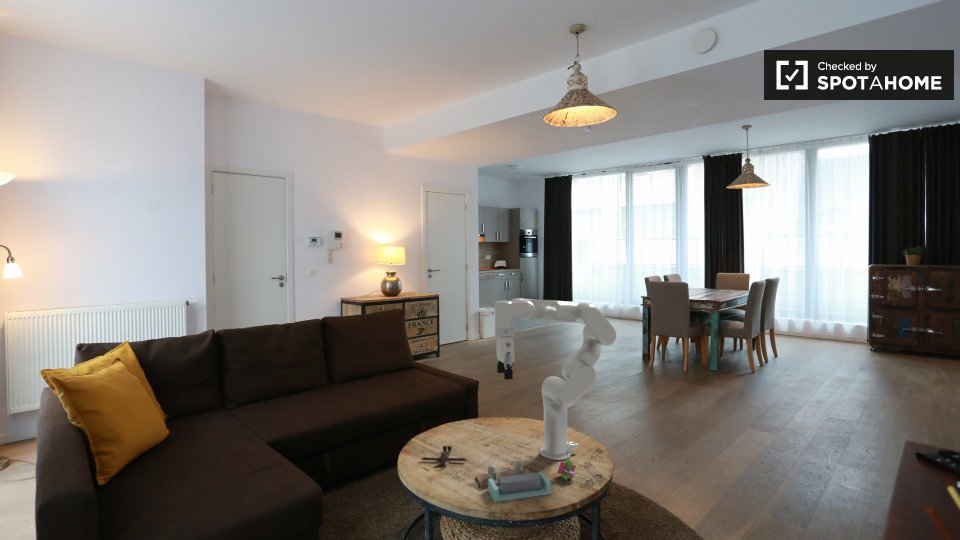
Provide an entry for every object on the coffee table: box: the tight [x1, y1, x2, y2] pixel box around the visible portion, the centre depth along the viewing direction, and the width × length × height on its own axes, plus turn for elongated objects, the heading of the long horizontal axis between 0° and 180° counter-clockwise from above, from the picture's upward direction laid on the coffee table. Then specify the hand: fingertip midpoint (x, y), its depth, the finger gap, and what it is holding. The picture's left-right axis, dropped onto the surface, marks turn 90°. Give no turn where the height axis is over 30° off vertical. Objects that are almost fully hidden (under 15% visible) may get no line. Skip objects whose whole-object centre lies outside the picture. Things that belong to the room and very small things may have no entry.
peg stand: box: [475, 460, 532, 489], centre depth 172 cm, size 20×8×6 cm, turn 103°
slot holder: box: [487, 471, 552, 503], centre depth 162 cm, size 20×8×4 cm, turn 103°
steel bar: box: [498, 472, 541, 495], centre depth 162 cm, size 14×4×4 cm, turn 104°
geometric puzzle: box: [555, 458, 577, 482], centre depth 172 cm, size 7×7×8 cm
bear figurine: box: [421, 445, 467, 467], centre depth 189 cm, size 18×4×14 cm
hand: (504, 375), depth 184 cm, fingers open, 9 cm apart
